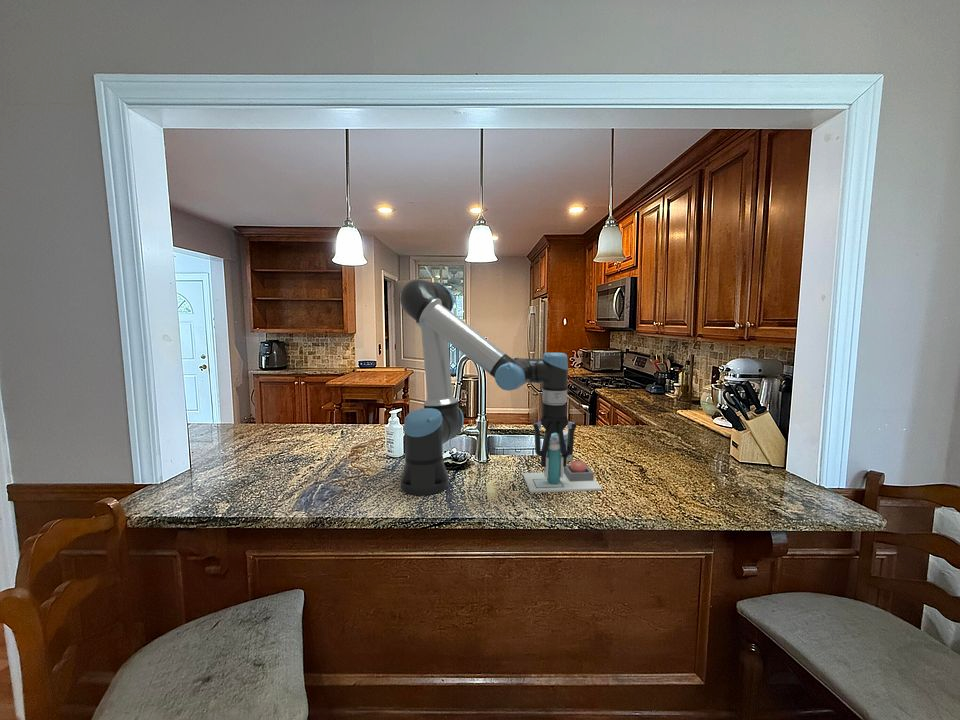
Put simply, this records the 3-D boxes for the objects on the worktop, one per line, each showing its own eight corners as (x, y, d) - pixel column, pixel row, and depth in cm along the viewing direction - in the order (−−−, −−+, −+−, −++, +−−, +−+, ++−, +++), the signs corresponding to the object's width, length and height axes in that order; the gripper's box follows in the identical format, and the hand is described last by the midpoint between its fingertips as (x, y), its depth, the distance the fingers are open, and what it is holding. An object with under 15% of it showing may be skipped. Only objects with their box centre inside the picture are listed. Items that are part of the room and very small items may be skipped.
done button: (572, 475, 126) (572, 466, 126) (568, 469, 131) (568, 461, 131) (588, 475, 127) (588, 465, 126) (583, 469, 132) (583, 460, 131)
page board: (530, 492, 118) (530, 483, 118) (522, 474, 132) (522, 466, 132) (602, 490, 120) (602, 480, 119) (587, 472, 133) (587, 464, 133)
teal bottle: (548, 483, 122) (549, 445, 121) (545, 477, 126) (546, 441, 125) (561, 482, 122) (562, 444, 121) (558, 477, 126) (558, 440, 125)
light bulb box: (560, 467, 139) (560, 437, 138) (543, 463, 143) (543, 434, 142) (572, 458, 147) (573, 430, 146) (556, 455, 151) (556, 427, 150)
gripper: (529, 405, 118) (528, 481, 120) (585, 405, 118) (583, 480, 121) (525, 400, 125) (524, 472, 127) (578, 400, 126) (576, 471, 128)
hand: (553, 476), depth 124 cm, fingers closed on teal bottle, 4 cm apart
